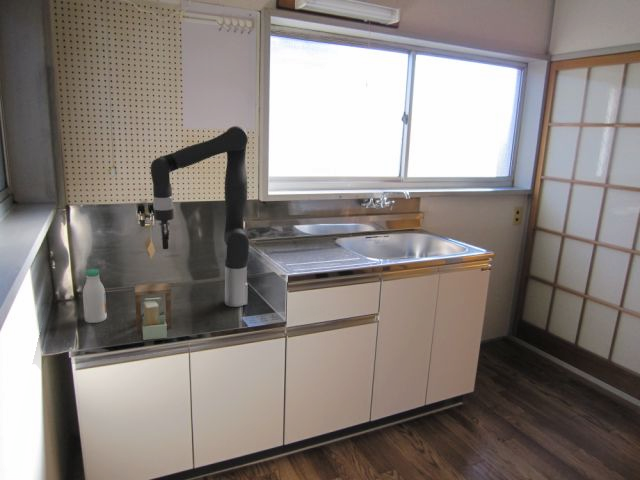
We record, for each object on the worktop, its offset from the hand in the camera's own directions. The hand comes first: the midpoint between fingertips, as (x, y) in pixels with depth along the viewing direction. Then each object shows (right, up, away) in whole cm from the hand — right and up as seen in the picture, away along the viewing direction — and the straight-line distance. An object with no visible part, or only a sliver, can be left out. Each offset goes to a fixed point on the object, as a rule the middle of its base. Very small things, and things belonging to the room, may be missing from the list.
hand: (165, 248), depth 190 cm
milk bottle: (-23, -27, -12) cm, 38 cm away
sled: (+1, -29, -15) cm, 33 cm away
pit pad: (-3, -27, -6) cm, 28 cm away
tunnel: (0, -29, -14) cm, 32 cm away
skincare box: (+2, -31, -20) cm, 37 cm away
